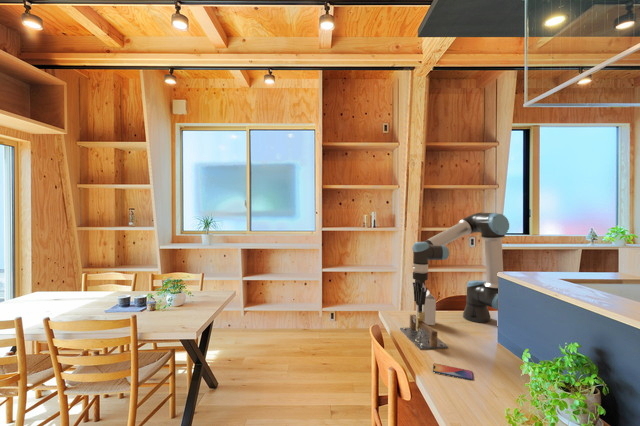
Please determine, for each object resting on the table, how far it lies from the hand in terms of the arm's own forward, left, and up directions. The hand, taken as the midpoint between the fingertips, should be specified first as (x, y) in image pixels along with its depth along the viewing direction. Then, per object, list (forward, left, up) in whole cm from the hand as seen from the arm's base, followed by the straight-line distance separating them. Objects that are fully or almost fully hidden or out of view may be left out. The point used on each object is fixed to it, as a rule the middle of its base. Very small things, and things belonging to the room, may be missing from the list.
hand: (419, 316), depth 173 cm
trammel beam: (0, +4, -10) cm, 11 cm away
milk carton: (-13, -17, -10) cm, 23 cm away
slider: (0, +2, -8) cm, 9 cm away
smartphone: (+3, +39, -10) cm, 40 cm away
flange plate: (0, +4, -10) cm, 11 cm away
